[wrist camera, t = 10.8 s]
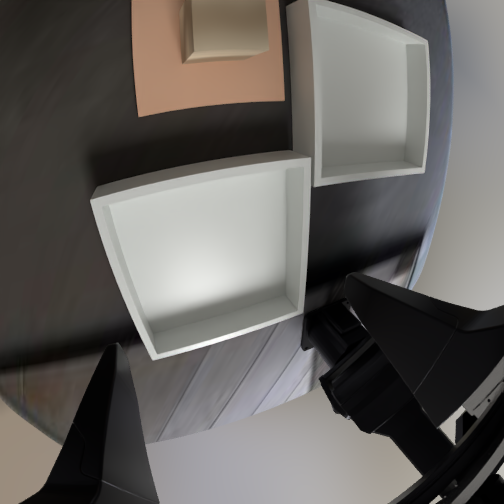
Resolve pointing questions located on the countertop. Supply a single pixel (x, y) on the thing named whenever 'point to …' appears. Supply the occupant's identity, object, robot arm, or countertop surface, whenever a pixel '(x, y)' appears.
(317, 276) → the countertop surface
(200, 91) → the tile
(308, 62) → the tray
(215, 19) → the beech cube
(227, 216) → the tray
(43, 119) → the countertop surface
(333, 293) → the countertop surface
